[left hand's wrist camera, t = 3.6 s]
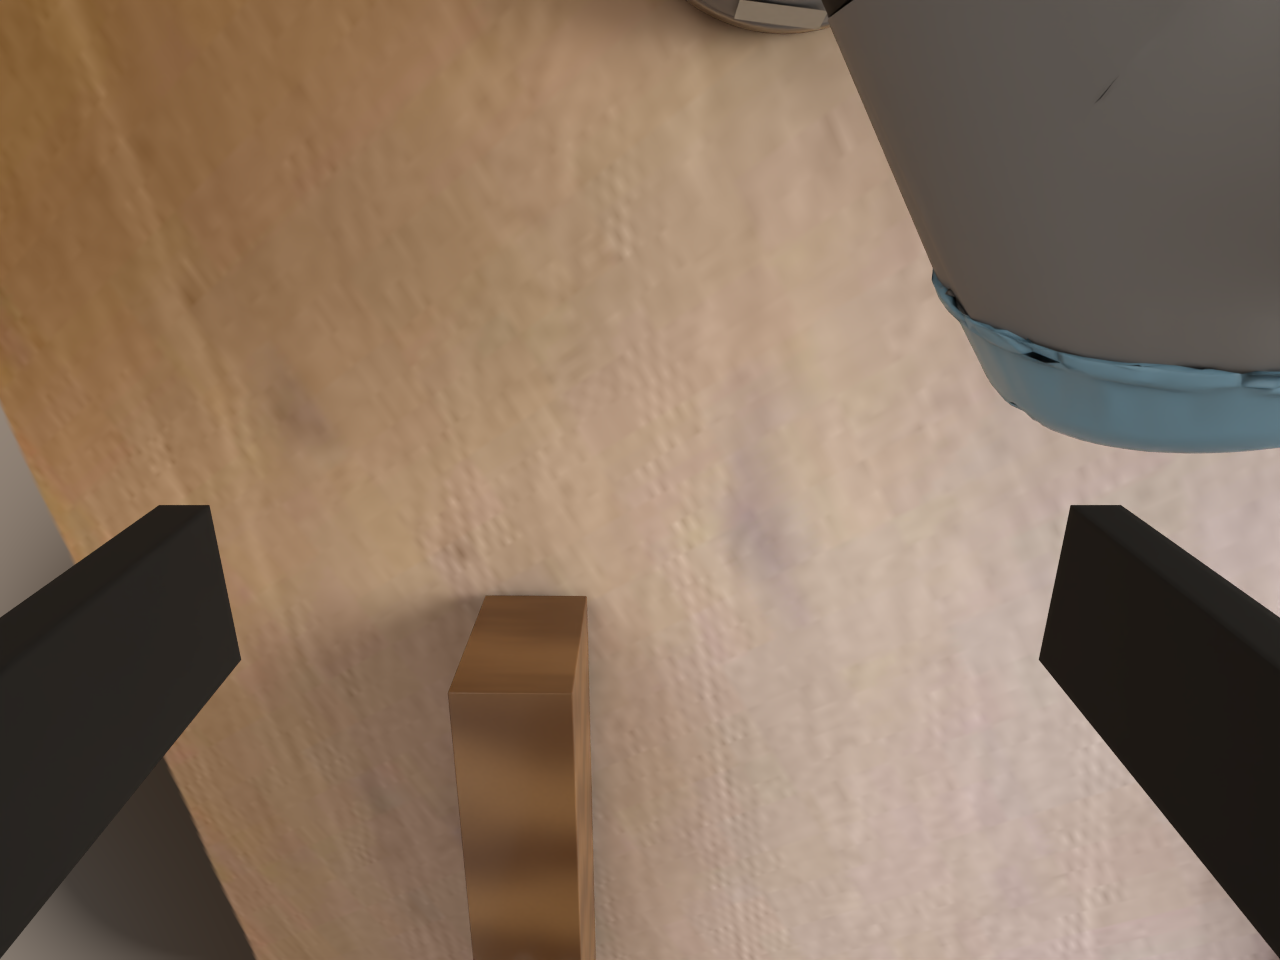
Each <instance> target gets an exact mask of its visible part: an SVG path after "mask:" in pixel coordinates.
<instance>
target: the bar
mask: <svg viewBox="0 0 1280 960" xmlns="http://www.w3.org/2000/svg"><path fill="white" fill-rule="evenodd" d="M448 699H449V710H450V720H451V731H452V741H453V751H454V762H455V772H456V783H457V793H458V804H459V814H460V825H461V835H462V846H463V856H464V867H465V877H466V888H467V898H468V908H469V919H470V929H471V940H472V950H473V960H596V953H595V912H594V871H593V830H592V789H591V748H590V707H589V666H588V625H587V597H586V596H485V599H484V601H483V604H482V607H481V609H480V612H479V614H478V617H477V619H476V622H475V625H474V627H473V630H472V632H471V635H470V638H469V640H468V643H467V645H466V648H465V650H464V653H463V656H462V658H461V661H460V663H459V666H458V668H457V671H456V674H455V676H454V679H453V681H452V684H451V686H450V689H449V692H448Z"/></svg>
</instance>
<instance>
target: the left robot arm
mask: <svg viewBox="0 0 1280 960" xmlns="http://www.w3.org/2000/svg"><path fill="white" fill-rule="evenodd" d="M686 1H687V2H689V3H690V4H692V5H693V6H695V7H696V8H697V9H699V10H701V11H703V12H704V13H706V14H708V15H710V16H712V17H714V18H716V19H718V20H721V21H723V22H726V23H728V24H730V25H734V26H737V27H741V28H744V29H747V30H753V31H759V32H765V33H779V34H789V33H804V32H810V31H816V30H821V29H825V28H828V27H831V29H832V31H833V34H834V36H835V39H836V41H837V43H838V46H839V48H840V50H841V53H842V55H843V57H844V60H845V62H846V64H847V67H848V69H849V71H850V74H851V76H852V79H853V81H854V83H855V86H856V88H857V90H858V93H859V95H860V97H861V100H862V102H863V104H864V107H865V109H866V111H867V114H868V116H869V119H870V121H871V123H872V126H873V128H874V130H875V133H876V135H877V137H878V140H879V142H880V144H881V147H882V149H883V152H884V154H885V156H886V159H887V161H888V163H889V166H890V168H891V170H892V173H893V175H894V177H895V180H896V182H897V184H898V187H899V189H900V192H901V194H902V196H903V199H904V201H905V203H906V206H907V208H908V210H909V213H910V215H911V217H912V220H913V222H914V224H915V227H916V229H917V232H918V234H919V236H920V239H921V241H922V243H923V246H924V248H925V250H926V253H927V255H928V257H929V260H930V262H931V264H932V267H933V273H932V282H933V285H934V287H935V289H936V292H937V294H938V297H939V299H940V300H941V302H942V303H943V305H944V306H945V308H946V309H947V310H948V311H949V312H950V313H951V314H952V315H953V316H954V317H955V318H956V319H957V320H958V321H959V322H960V324H961V326H962V328H963V330H964V332H965V334H966V336H967V338H968V340H969V342H970V344H971V346H972V348H973V350H974V352H975V354H976V356H977V358H978V360H979V362H980V364H981V366H982V368H983V370H984V372H985V374H986V376H987V378H988V379H989V381H990V383H991V384H992V386H993V387H994V388H995V389H996V390H997V392H998V393H999V394H1000V395H1001V396H1002V397H1003V398H1004V400H1005V401H1007V402H1008V403H1009V404H1010V405H1012V406H1014V407H1016V408H1018V409H1020V410H1023V411H1024V412H1025V413H1027V414H1028V415H1029V416H1030V417H1031V418H1032V419H1033V420H1035V421H1038V422H1039V423H1040V424H1042V425H1043V426H1045V427H1047V428H1049V429H1051V430H1053V431H1056V432H1059V433H1061V434H1064V435H1067V436H1070V437H1073V438H1076V439H1080V440H1083V441H1087V442H1091V443H1095V444H1100V445H1105V446H1110V447H1116V448H1123V449H1130V450H1139V451H1148V452H1165V453H1224V452H1241V451H1254V450H1263V449H1271V448H1279V447H1280V0H686ZM240 661H241V657H240V652H239V647H238V642H237V637H236V632H235V627H234V623H233V618H232V613H231V608H230V603H229V598H228V593H227V589H226V584H225V579H224V574H223V569H222V564H221V559H220V555H219V550H218V545H217V540H216V535H215V530H214V525H213V521H212V516H211V511H210V506H209V505H159V506H157V507H156V508H154V509H153V510H152V511H150V512H149V513H147V514H146V515H145V516H143V517H142V518H140V519H139V520H138V521H136V522H135V523H133V524H132V525H130V526H129V527H128V528H126V529H125V530H123V531H122V532H121V533H119V534H118V535H116V536H115V537H114V538H112V539H111V540H109V541H108V542H106V543H105V544H104V545H102V546H101V547H99V548H98V549H97V550H95V551H94V552H92V553H91V554H89V555H88V556H87V557H85V558H84V559H82V560H81V561H80V562H78V563H77V564H75V565H74V566H73V567H71V568H70V569H68V570H67V571H66V572H64V573H63V574H61V575H60V576H58V577H57V578H56V579H54V580H53V581H51V582H50V583H49V584H47V585H46V586H44V587H43V588H41V589H40V590H39V591H37V592H36V593H34V594H33V595H32V596H30V597H29V598H27V599H26V600H25V601H23V602H22V603H20V604H19V605H17V606H16V607H15V608H13V609H12V610H10V611H9V612H8V613H6V614H5V615H3V616H2V617H1V618H0V958H1V957H2V956H3V955H4V953H5V952H6V951H7V950H8V948H9V947H10V946H11V945H12V943H13V942H14V941H15V940H16V938H17V937H18V936H19V935H20V933H21V932H22V931H23V930H24V928H25V927H26V926H27V925H28V924H29V922H30V921H31V920H32V919H33V917H34V916H35V915H36V914H37V912H38V911H39V910H40V909H41V907H42V906H43V905H44V904H45V902H46V901H47V900H48V899H49V897H50V896H51V895H52V894H53V893H54V891H55V890H56V889H57V888H58V886H59V885H60V884H61V883H62V881H63V880H64V879H65V878H66V876H67V875H68V874H69V873H70V871H71V870H72V869H73V868H74V866H75V865H76V864H77V863H78V862H79V860H80V859H81V858H82V857H83V855H84V854H85V853H86V852H87V850H88V849H89V848H90V847H91V845H92V844H93V843H94V842H95V840H96V839H97V838H98V837H99V835H100V834H101V833H102V832H103V831H104V829H105V828H106V827H107V826H108V824H109V823H110V822H111V821H112V819H113V818H114V817H115V816H116V814H117V813H118V812H119V811H120V809H121V808H122V807H123V806H124V804H125V803H126V802H127V801H128V799H129V798H130V797H131V796H132V794H133V793H134V792H135V791H136V789H137V788H138V787H139V786H140V785H141V783H142V782H143V781H144V780H145V778H146V777H147V776H148V775H149V773H150V772H151V771H152V770H153V768H154V767H155V766H156V765H157V763H158V762H159V761H160V760H161V758H162V757H163V756H164V755H165V754H166V752H167V751H168V750H169V749H170V747H171V746H172V745H173V744H174V742H175V741H176V740H177V739H178V737H179V736H180V735H181V734H182V732H183V731H184V730H185V729H186V728H187V726H188V725H189V724H190V723H191V721H192V720H193V719H194V718H195V716H196V715H197V714H198V713H199V711H200V710H201V709H202V708H203V706H204V705H205V704H206V703H207V701H208V700H209V699H210V698H211V696H212V695H213V694H214V693H215V692H216V690H217V689H218V688H219V687H220V685H221V684H222V683H223V682H224V680H225V679H226V678H227V677H228V675H229V674H230V673H231V672H232V670H233V669H234V668H235V667H236V665H237V664H238V663H239V662H240ZM1039 661H1040V662H1041V663H1042V664H1043V665H1044V667H1045V668H1046V669H1047V670H1048V672H1049V673H1050V674H1051V675H1052V677H1053V678H1054V679H1055V680H1056V682H1057V683H1058V684H1059V685H1060V687H1061V688H1062V689H1063V690H1064V692H1065V693H1066V694H1067V695H1068V696H1069V698H1070V699H1071V700H1072V701H1073V703H1074V704H1075V705H1076V706H1077V708H1078V709H1079V710H1080V711H1081V713H1082V714H1083V715H1084V716H1085V718H1086V719H1087V720H1088V721H1089V723H1090V724H1091V725H1092V726H1093V728H1094V729H1095V730H1096V731H1097V732H1098V734H1099V735H1100V736H1101V737H1102V739H1103V740H1104V741H1105V742H1106V744H1107V745H1108V746H1109V747H1110V749H1111V750H1112V751H1113V752H1114V754H1115V755H1116V756H1117V757H1118V759H1119V760H1120V761H1121V762H1122V763H1123V765H1124V766H1125V767H1126V768H1127V770H1128V771H1129V772H1130V773H1131V775H1132V776H1133V777H1134V778H1135V780H1136V781H1137V782H1138V783H1139V785H1140V786H1141V787H1142V788H1143V790H1144V791H1145V792H1146V793H1147V795H1148V796H1149V797H1150V798H1151V799H1152V801H1153V802H1154V803H1155V804H1156V806H1157V807H1158V808H1159V809H1160V811H1161V812H1162V813H1163V814H1164V816H1165V817H1166V818H1167V819H1168V821H1169V822H1170V823H1171V824H1172V826H1173V827H1174V828H1175V829H1176V831H1177V832H1178V833H1179V834H1180V835H1181V837H1182V838H1183V839H1184V840H1185V842H1186V843H1187V844H1188V845H1189V847H1190V848H1191V849H1192V850H1193V852H1194V853H1195V854H1196V855H1197V857H1198V858H1199V859H1200V860H1201V862H1202V863H1203V864H1204V865H1205V866H1206V868H1207V869H1208V870H1209V871H1210V873H1211V874H1212V875H1213V876H1214V878H1215V879H1216V880H1217V881H1218V883H1219V884H1220V885H1221V886H1222V888H1223V889H1224V890H1225V891H1226V893H1227V894H1228V895H1229V896H1230V898H1231V899H1232V900H1233V901H1234V902H1235V904H1236V905H1237V906H1238V907H1239V909H1240V910H1241V911H1242V912H1243V914H1244V915H1245V916H1246V917H1247V919H1248V920H1249V921H1250V922H1251V924H1252V925H1253V926H1254V927H1255V929H1256V930H1257V931H1258V932H1259V933H1260V935H1261V936H1262V937H1263V938H1264V940H1265V941H1266V942H1267V943H1268V945H1269V946H1270V947H1271V948H1272V950H1273V951H1274V952H1275V953H1276V955H1277V956H1278V957H1279V958H1280V618H1279V617H1278V616H1277V615H1275V614H1274V613H1272V612H1271V611H1270V610H1268V609H1267V608H1265V607H1264V606H1263V605H1261V604H1260V603H1258V602H1257V601H1255V600H1254V599H1253V598H1251V597H1250V596H1248V595H1247V594H1246V593H1244V592H1243V591H1241V590H1240V589H1239V588H1237V587H1236V586H1234V585H1233V584H1231V583H1230V582H1229V581H1227V580H1226V579H1224V578H1223V577H1222V576H1220V575H1219V574H1217V573H1216V572H1215V571H1213V570H1212V569H1210V568H1209V567H1207V566H1206V565H1205V564H1203V563H1202V562H1200V561H1199V560H1198V559H1196V558H1195V557H1193V556H1192V555H1191V554H1189V553H1188V552H1186V551H1185V550H1183V549H1182V548H1181V547H1179V546H1178V545H1176V544H1175V543H1174V542H1172V541H1171V540H1169V539H1168V538H1166V537H1165V536H1164V535H1162V534H1161V533H1159V532H1158V531H1157V530H1155V529H1154V528H1152V527H1151V526H1150V525H1148V524H1147V523H1145V522H1144V521H1142V520H1141V519H1140V518H1138V517H1137V516H1135V515H1134V514H1133V513H1131V512H1130V511H1128V510H1127V509H1126V508H1124V507H1123V506H1121V505H1071V506H1070V511H1069V516H1068V521H1067V525H1066V530H1065V535H1064V540H1063V545H1062V550H1061V555H1060V559H1059V564H1058V569H1057V574H1056V579H1055V584H1054V589H1053V593H1052V598H1051V603H1050V608H1049V613H1048V618H1047V623H1046V627H1045V632H1044V637H1043V642H1042V647H1041V652H1040V657H1039Z"/></svg>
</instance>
